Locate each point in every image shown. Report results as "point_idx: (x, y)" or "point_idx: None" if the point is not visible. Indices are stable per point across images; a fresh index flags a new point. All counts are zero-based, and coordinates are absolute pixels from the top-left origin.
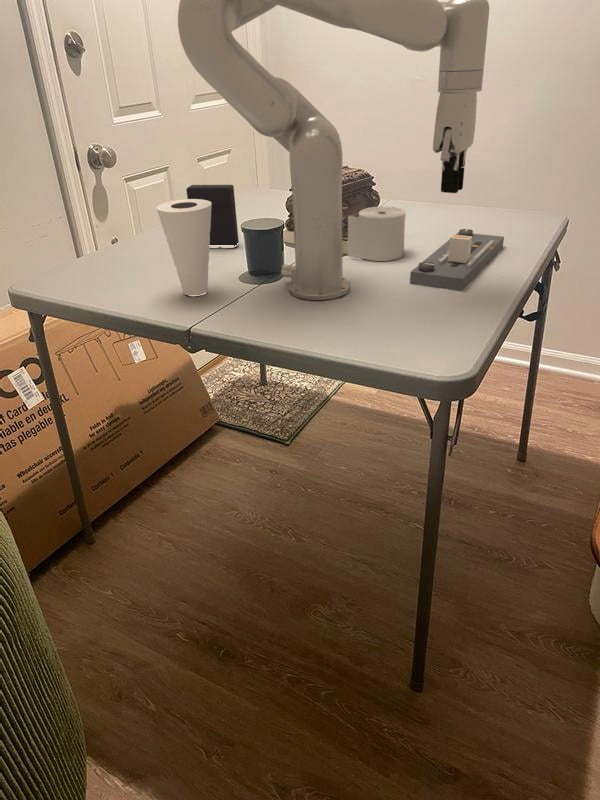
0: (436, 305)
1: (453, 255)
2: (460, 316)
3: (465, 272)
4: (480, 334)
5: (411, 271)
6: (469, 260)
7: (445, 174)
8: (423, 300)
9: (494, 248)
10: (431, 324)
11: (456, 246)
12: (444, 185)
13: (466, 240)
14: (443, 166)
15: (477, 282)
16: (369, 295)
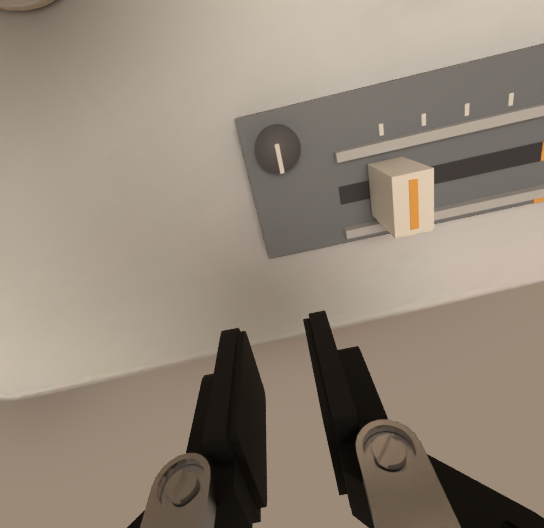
0: (163, 248)
1: (374, 182)
2: (151, 308)
3: (314, 241)
4: (115, 361)
5: (239, 119)
6: None
7: (190, 446)
8: (166, 212)
9: None
10: (81, 289)
11: (384, 195)
12: (203, 383)
13: (393, 231)
14: (154, 506)
15: (336, 247)
16: (90, 77)
